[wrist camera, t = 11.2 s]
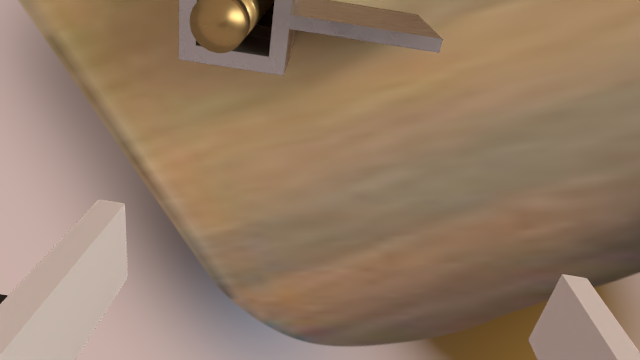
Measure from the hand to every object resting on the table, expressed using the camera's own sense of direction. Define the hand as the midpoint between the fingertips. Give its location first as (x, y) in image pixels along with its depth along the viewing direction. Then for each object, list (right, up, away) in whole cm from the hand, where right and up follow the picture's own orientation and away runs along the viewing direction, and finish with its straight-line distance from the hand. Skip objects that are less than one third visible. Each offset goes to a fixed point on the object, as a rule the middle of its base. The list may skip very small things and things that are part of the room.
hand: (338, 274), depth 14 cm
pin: (-5, +17, +21) cm, 27 cm away
